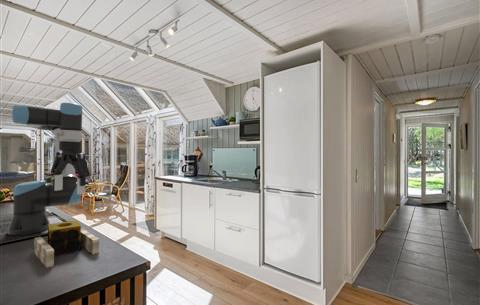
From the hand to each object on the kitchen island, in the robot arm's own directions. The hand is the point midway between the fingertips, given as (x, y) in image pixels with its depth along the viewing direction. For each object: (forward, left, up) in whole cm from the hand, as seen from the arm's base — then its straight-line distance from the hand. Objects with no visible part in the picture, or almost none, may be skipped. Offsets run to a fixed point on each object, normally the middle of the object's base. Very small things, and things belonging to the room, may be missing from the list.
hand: (69, 192), depth 100 cm
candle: (+5, -3, -22) cm, 23 cm away
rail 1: (+9, -10, -22) cm, 26 cm away
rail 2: (+9, +4, -22) cm, 24 cm away
